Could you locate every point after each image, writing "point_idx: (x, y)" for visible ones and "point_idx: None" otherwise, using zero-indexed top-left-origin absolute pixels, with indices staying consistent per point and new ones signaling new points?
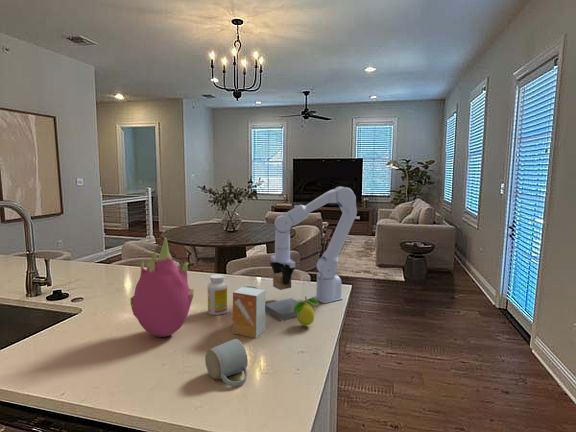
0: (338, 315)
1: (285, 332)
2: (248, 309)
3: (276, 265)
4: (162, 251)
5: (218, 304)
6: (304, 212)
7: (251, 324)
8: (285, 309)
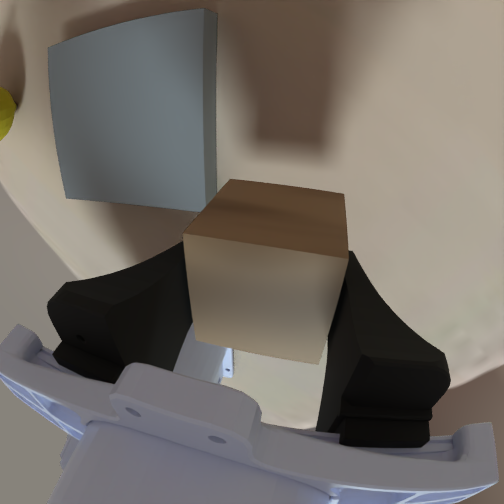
0: (55, 248)
1: (10, 31)
2: None
3: (341, 381)
4: None
5: None
6: None
7: None
8: (81, 86)
